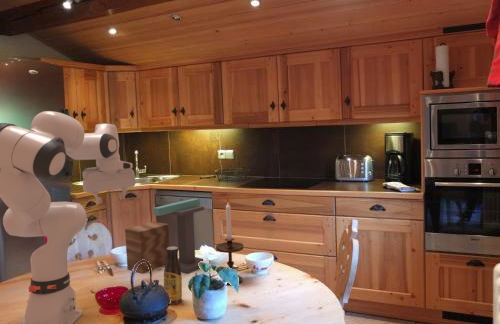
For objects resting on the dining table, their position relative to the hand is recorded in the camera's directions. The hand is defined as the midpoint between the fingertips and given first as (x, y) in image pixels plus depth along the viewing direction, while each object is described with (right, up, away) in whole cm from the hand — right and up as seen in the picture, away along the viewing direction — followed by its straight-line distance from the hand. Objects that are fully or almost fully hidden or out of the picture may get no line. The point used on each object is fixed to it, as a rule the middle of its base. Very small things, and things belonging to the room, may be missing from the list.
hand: (111, 201), depth 177 cm
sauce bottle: (+27, -35, -13) cm, 46 cm away
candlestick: (+46, -32, +5) cm, 57 cm away
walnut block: (+9, -31, +27) cm, 42 cm away
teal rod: (+23, -5, +20) cm, 31 cm away
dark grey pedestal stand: (+25, -31, +25) cm, 47 cm away
